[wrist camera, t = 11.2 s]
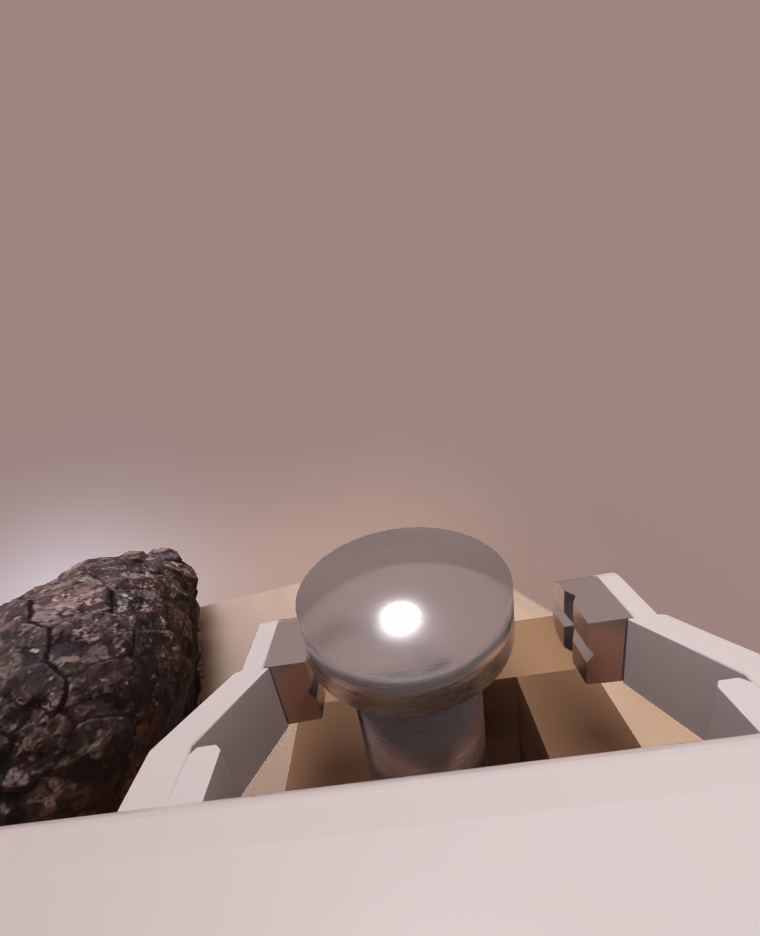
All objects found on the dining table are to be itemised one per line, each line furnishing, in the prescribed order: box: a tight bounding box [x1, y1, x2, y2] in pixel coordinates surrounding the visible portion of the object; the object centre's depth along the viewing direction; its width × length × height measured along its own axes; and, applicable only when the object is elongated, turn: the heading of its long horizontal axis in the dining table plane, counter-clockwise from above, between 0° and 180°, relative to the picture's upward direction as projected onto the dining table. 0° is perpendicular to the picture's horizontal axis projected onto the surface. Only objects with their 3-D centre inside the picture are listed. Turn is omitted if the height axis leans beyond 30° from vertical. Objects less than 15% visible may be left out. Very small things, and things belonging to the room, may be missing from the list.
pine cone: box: [0, 548, 203, 826], centre depth 20 cm, size 10×18×10 cm, turn 21°
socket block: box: [285, 616, 642, 791], centre depth 12 cm, size 10×10×6 cm
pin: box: [296, 527, 515, 781], centre depth 10 cm, size 5×5×10 cm
